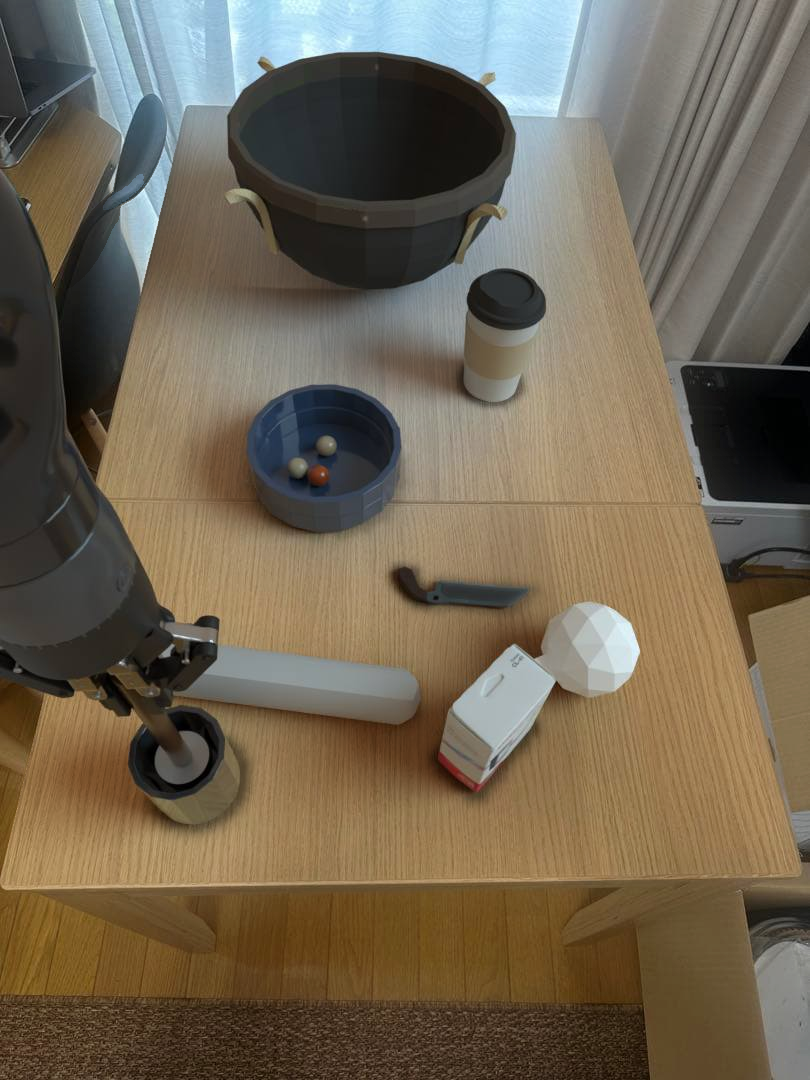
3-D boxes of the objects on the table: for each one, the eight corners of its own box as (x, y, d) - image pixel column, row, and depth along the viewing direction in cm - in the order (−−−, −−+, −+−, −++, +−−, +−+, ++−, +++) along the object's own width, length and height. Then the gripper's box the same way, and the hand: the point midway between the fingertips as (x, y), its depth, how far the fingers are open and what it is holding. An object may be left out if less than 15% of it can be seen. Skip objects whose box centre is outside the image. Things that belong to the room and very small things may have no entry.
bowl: (488, 196, 116) (510, 57, 99) (499, 356, 97) (528, 218, 80) (261, 183, 115) (244, 40, 98) (228, 342, 96) (199, 199, 79)
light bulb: (597, 596, 76) (491, 640, 74) (628, 580, 67) (508, 630, 65) (635, 675, 74) (527, 723, 73) (671, 670, 65) (550, 724, 64)
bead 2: (312, 451, 86) (315, 456, 84) (317, 431, 85) (319, 435, 83) (332, 455, 87) (335, 460, 85) (337, 435, 86) (340, 440, 84)
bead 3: (324, 478, 81) (336, 472, 83) (308, 464, 81) (321, 458, 83) (315, 493, 82) (328, 486, 84) (300, 479, 83) (313, 473, 84)
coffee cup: (491, 347, 98) (511, 248, 85) (540, 387, 94) (567, 290, 82) (440, 376, 94) (452, 278, 82) (488, 419, 91) (509, 323, 78)
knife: (395, 601, 76) (395, 598, 76) (398, 568, 79) (398, 565, 78) (530, 613, 76) (531, 610, 76) (529, 579, 79) (531, 576, 78)
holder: (150, 828, 64) (122, 803, 56) (159, 741, 68) (134, 707, 60) (238, 822, 64) (221, 797, 57) (242, 736, 68) (227, 702, 61)
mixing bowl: (250, 537, 80) (243, 505, 75) (255, 421, 89) (249, 385, 84) (403, 531, 81) (406, 499, 76) (393, 418, 90) (395, 382, 85)
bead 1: (282, 478, 83) (290, 470, 81) (284, 460, 84) (293, 451, 82) (302, 484, 84) (310, 476, 82) (304, 466, 85) (312, 457, 83)
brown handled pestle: (155, 791, 60) (80, 709, 44) (161, 737, 62) (91, 641, 46) (211, 788, 60) (156, 705, 44) (214, 734, 62) (163, 638, 46)
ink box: (474, 795, 66) (494, 757, 56) (432, 756, 68) (444, 712, 58) (533, 727, 70) (561, 679, 60) (492, 691, 72) (513, 640, 62)
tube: (426, 658, 69) (161, 623, 69) (422, 703, 65) (140, 666, 65) (420, 695, 72) (167, 662, 73) (415, 740, 68) (147, 705, 68)
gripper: (205, 500, 37) (249, 644, 52) (-80, 510, 36) (47, 655, 51) (194, 636, 33) (245, 751, 48) (-127, 651, 32) (26, 764, 47)
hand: (143, 701), depth 49 cm, fingers closed on brown handled pestle
